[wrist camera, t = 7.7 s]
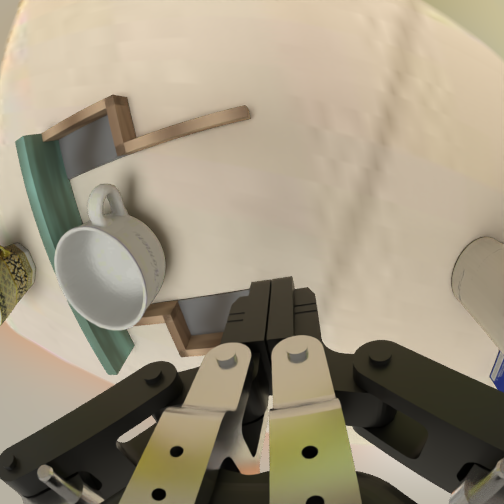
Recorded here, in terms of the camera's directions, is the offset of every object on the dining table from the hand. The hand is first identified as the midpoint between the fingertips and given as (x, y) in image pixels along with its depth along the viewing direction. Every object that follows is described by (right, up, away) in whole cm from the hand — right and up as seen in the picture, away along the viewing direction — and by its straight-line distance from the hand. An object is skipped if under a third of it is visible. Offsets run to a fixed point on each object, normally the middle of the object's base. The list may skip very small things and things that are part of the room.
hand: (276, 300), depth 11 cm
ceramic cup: (-34, +1, +23) cm, 41 cm away
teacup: (-14, +3, +20) cm, 25 cm away
